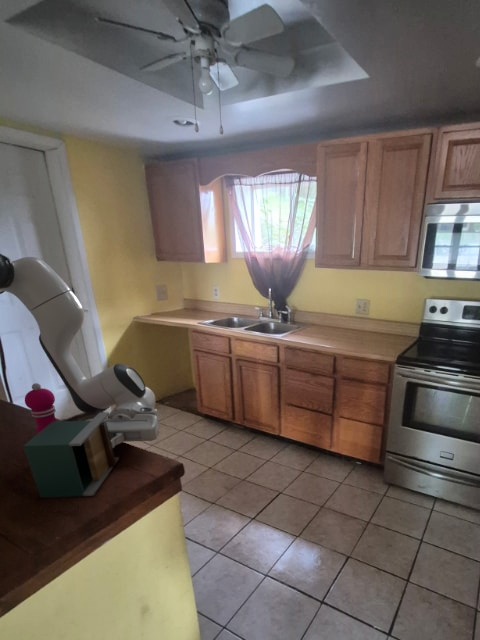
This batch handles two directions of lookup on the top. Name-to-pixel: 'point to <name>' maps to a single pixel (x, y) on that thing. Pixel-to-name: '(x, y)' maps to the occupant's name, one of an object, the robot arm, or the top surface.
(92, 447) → the sliding door
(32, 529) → the top surface
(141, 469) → the top surface
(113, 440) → the robot arm
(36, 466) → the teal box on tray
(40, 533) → the top surface
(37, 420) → the pepper mill
